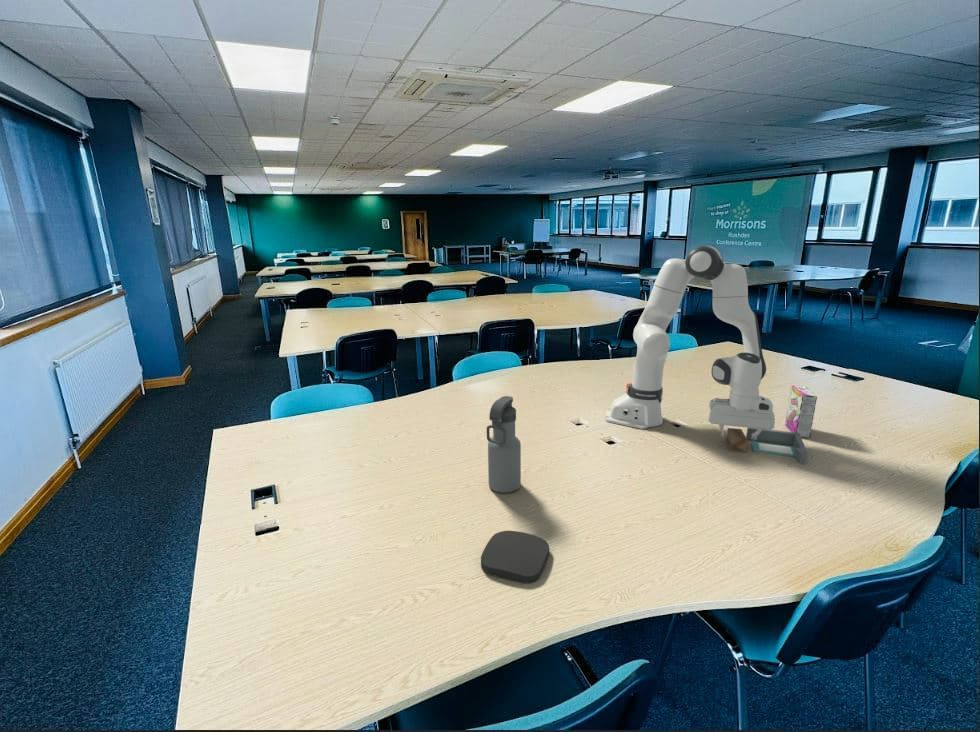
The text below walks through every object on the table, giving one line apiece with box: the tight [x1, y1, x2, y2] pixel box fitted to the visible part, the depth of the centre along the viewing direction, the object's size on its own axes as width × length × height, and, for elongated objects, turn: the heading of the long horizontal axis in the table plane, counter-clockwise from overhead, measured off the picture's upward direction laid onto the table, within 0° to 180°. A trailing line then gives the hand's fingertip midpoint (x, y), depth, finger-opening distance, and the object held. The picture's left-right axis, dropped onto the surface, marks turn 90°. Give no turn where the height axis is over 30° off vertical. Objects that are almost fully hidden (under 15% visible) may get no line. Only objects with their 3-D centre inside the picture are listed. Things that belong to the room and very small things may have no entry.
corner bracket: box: [745, 427, 808, 465], centre depth 167 cm, size 16×15×4 cm
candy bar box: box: [784, 384, 818, 439], centre depth 179 cm, size 11×5×16 cm, turn 168°
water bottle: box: [486, 395, 522, 494], centre depth 144 cm, size 10×10×28 cm
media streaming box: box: [480, 530, 550, 584], centre depth 116 cm, size 15×15×3 cm
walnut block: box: [725, 427, 748, 454], centre depth 170 cm, size 4×9×5 cm, turn 165°
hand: (738, 437), depth 170 cm, fingers open, 8 cm apart
